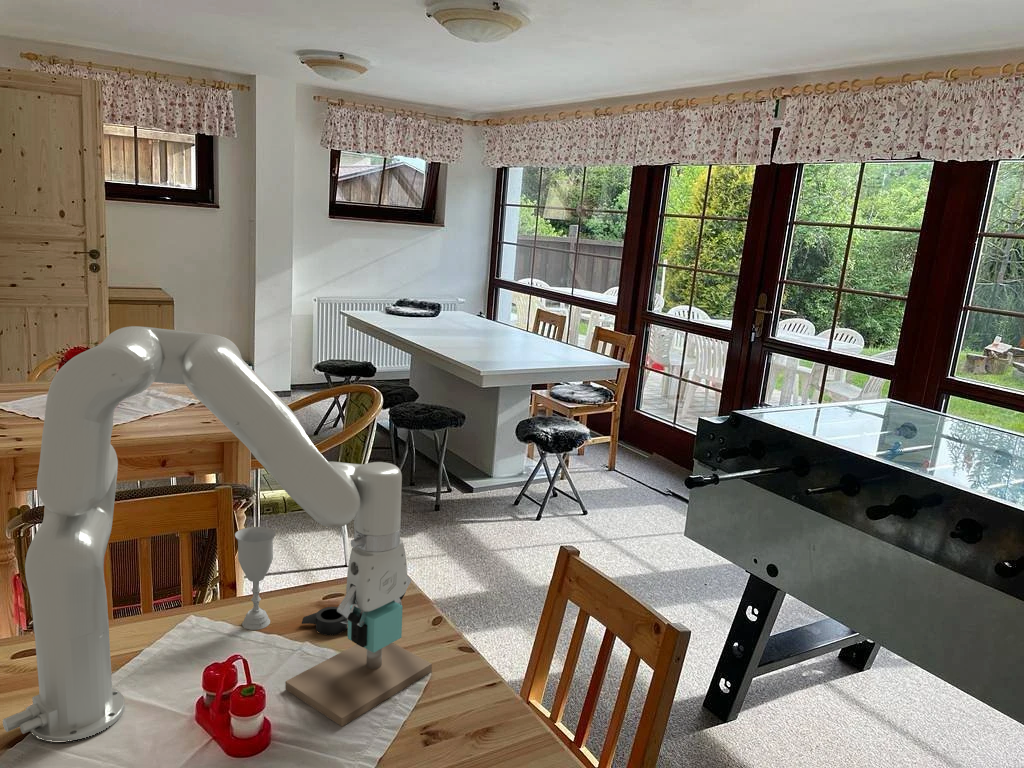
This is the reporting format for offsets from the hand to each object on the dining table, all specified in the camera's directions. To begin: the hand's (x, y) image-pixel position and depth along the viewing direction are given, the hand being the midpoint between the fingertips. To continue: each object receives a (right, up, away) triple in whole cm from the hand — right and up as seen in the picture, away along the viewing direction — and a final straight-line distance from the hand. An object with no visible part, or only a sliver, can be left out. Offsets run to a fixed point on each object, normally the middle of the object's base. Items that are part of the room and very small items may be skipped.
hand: (374, 634), depth 132 cm
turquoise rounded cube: (0, -1, 0) cm, 1 cm away
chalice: (-25, -3, +15) cm, 29 cm away
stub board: (-2, -7, -1) cm, 8 cm away
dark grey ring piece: (-11, -4, +15) cm, 19 cm away
